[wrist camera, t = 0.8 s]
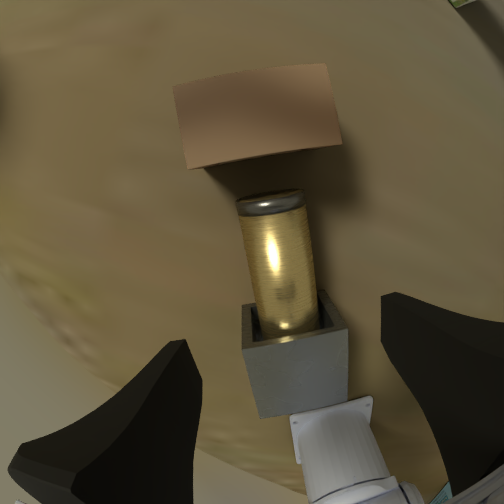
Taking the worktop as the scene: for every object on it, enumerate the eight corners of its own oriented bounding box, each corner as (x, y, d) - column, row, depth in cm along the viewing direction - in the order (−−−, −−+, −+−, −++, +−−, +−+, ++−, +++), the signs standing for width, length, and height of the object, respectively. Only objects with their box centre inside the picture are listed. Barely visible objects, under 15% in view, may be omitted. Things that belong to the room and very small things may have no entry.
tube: (317, 362, 21) (328, 394, 17) (270, 371, 21) (274, 405, 17) (297, 186, 17) (311, 192, 13) (236, 197, 17) (234, 205, 13)
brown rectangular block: (315, 149, 17) (342, 144, 12) (203, 168, 17) (187, 169, 12) (303, 88, 16) (325, 63, 11) (191, 106, 16) (172, 86, 11)
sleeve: (328, 356, 21) (347, 401, 16) (256, 370, 22) (260, 418, 17) (324, 289, 20) (348, 328, 15) (241, 305, 20) (241, 349, 15)
